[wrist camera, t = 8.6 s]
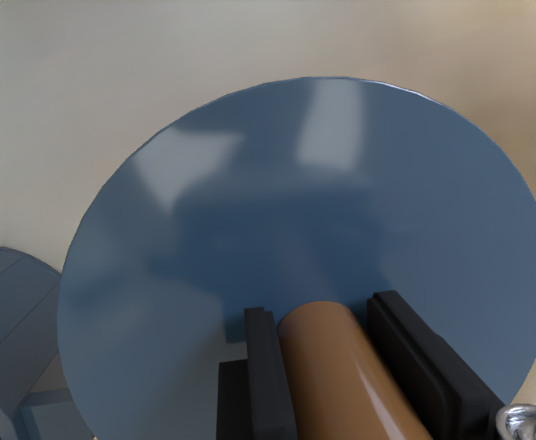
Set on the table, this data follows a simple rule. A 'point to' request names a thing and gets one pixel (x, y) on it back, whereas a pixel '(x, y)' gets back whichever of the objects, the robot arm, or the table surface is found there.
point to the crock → (33, 355)
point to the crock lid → (296, 259)
